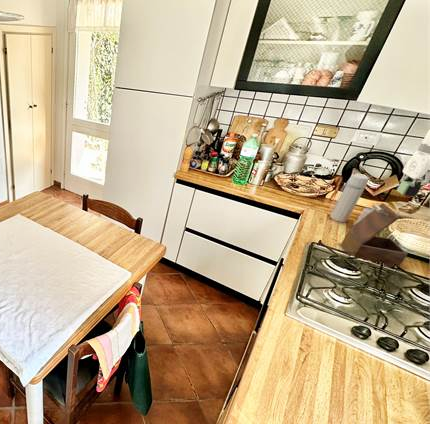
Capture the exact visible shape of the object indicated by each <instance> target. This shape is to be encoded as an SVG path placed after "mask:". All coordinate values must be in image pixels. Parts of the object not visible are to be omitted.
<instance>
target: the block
mask: <svg viewBox="0 0 430 424" xmlns="http://www.w3.org/2000/svg"><path fill="white" fill-rule="evenodd" d="M412 183H413V182H408V181H403V180H401V182H400V183H399V185H398V187H397V188H396V192H398V193H399V194H400V195H403V196H406V195H405V192H406V190H407V189H408V187H409V186H411V185H412ZM421 189H422V188H420V190H419V191H418V193H417V194H416V196H417V195H418V194H419V193H420V191H421Z"/></svg>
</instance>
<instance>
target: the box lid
mask: <svg viewBox="0 0 430 424" xmlns="http://www.w3.org/2000/svg"><path fill="white" fill-rule="evenodd" d="M371 208H373V209H374V210H373V211H372V212H370V213H369V214H368V215H367V216H365V217H364V218H363V219H361V220H360V221H359V222H358V223H356V222H355V223H356V224H355V223H354V225H352V226H351V227H350V228H348V231H350V233H351V234H352V235H353V236H354V237H355V238H356V239H357V241H358V242H359V243H360V244H361V245H363V244H365V243H366V242H367V241H369V240H370V239H371V238H373V237H374V236H378V234H380V233H381V232H383V231H384V230H386V229H387V228H388V227H390V226H391V225H392V224H393V223H395V222H396V221H397V220H399V219H401V215H399V214H398V213H397V212H396V211H394V210H393V209H391V207H389V206H388V205H387V204H385V203H383V202H382V203H381V204H379V205H378V204H373V205H372V207H371Z"/></svg>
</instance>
